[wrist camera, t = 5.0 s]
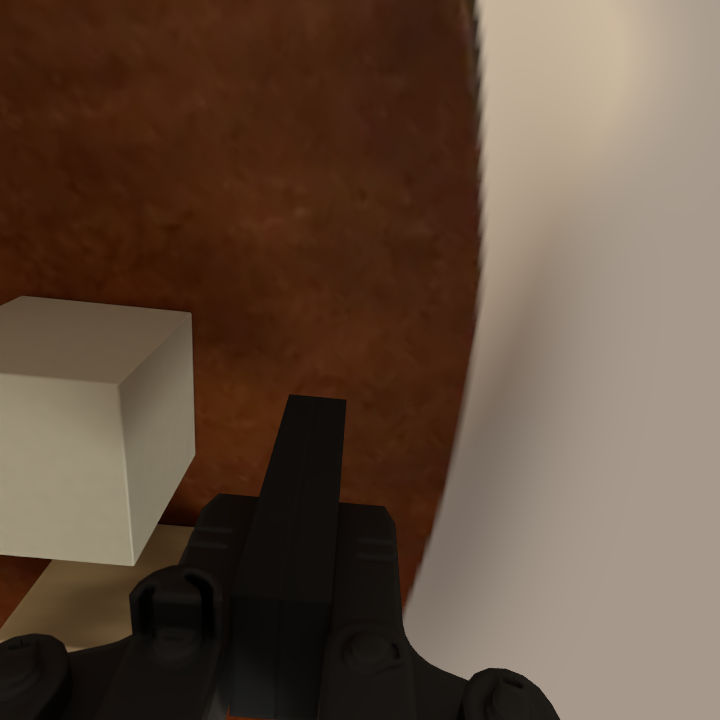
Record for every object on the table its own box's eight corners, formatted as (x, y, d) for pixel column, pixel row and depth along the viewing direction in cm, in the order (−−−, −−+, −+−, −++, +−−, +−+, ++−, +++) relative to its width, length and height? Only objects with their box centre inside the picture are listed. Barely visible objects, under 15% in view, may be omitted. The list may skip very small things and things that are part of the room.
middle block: (192, 311, 16) (118, 384, 11) (195, 454, 18) (134, 567, 13) (21, 295, 16) (-125, 361, 11) (44, 440, 18) (-72, 549, 13)
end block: (225, 529, 19) (179, 656, 14) (225, 630, 21) (184, 771, 16) (83, 516, 19) (-10, 640, 14) (97, 619, 21) (19, 757, 16)
